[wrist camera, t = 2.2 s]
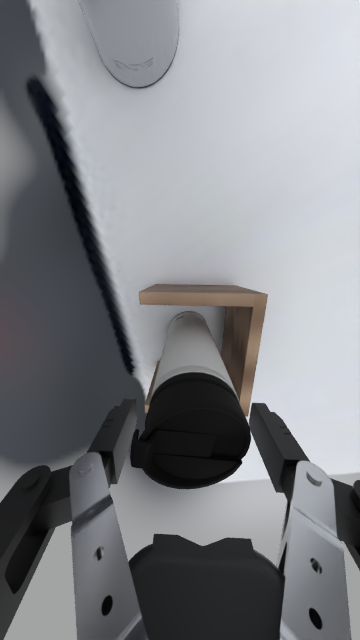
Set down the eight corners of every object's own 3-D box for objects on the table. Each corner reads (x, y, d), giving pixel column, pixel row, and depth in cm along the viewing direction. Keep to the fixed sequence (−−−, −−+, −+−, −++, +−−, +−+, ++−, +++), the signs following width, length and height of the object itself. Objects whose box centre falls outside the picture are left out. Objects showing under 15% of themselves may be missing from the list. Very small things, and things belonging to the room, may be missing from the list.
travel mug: (170, 307, 27) (132, 403, 7) (210, 314, 27) (278, 424, 7) (165, 343, 28) (124, 496, 9) (203, 349, 28) (243, 511, 9)
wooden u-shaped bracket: (156, 284, 26) (139, 291, 16) (236, 285, 25) (267, 294, 16) (157, 367, 30) (145, 412, 20) (227, 368, 29) (247, 416, 20)
